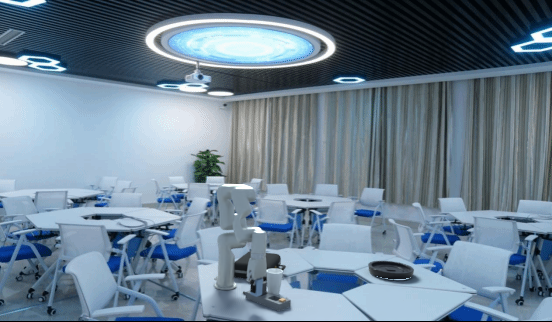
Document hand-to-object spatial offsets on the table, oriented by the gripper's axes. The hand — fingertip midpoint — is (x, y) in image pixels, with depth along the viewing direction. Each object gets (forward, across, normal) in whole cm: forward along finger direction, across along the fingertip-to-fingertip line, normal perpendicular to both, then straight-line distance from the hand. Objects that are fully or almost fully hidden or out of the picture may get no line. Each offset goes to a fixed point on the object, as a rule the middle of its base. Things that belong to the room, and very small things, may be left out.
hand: (256, 290), depth 196 cm
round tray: (+10, -111, +22) cm, 114 cm away
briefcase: (+12, -47, -39) cm, 63 cm away
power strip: (+10, -12, -5) cm, 16 cm away
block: (+2, 0, 0) cm, 2 cm away
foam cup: (+10, -24, -8) cm, 27 cm away
